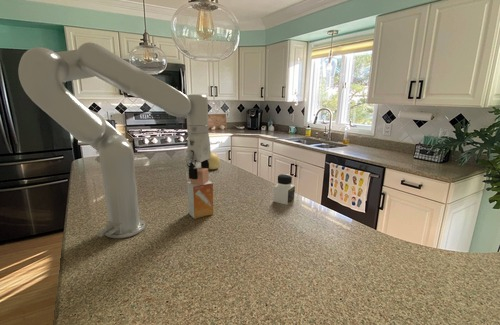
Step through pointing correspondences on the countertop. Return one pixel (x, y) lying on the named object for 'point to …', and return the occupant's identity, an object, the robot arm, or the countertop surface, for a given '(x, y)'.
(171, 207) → the countertop surface
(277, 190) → the medicine bottle
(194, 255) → the countertop surface
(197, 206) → the small box
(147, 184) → the countertop surface
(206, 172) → the terracotta block
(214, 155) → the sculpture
